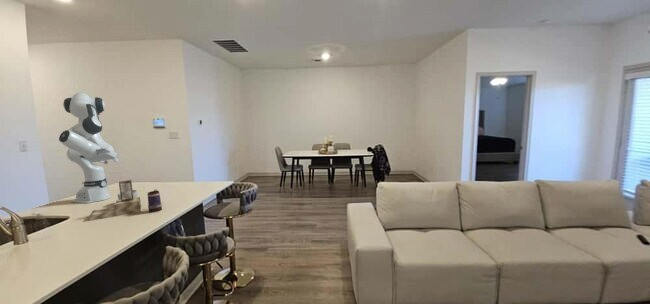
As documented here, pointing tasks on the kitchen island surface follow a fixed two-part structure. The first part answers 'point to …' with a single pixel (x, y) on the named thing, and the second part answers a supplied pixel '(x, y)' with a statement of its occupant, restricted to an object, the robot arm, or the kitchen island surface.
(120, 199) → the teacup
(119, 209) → the stand
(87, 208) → the kitchen island surface
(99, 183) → the robot arm
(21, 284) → the kitchen island surface
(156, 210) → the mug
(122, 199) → the frame
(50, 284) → the kitchen island surface
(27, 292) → the kitchen island surface
